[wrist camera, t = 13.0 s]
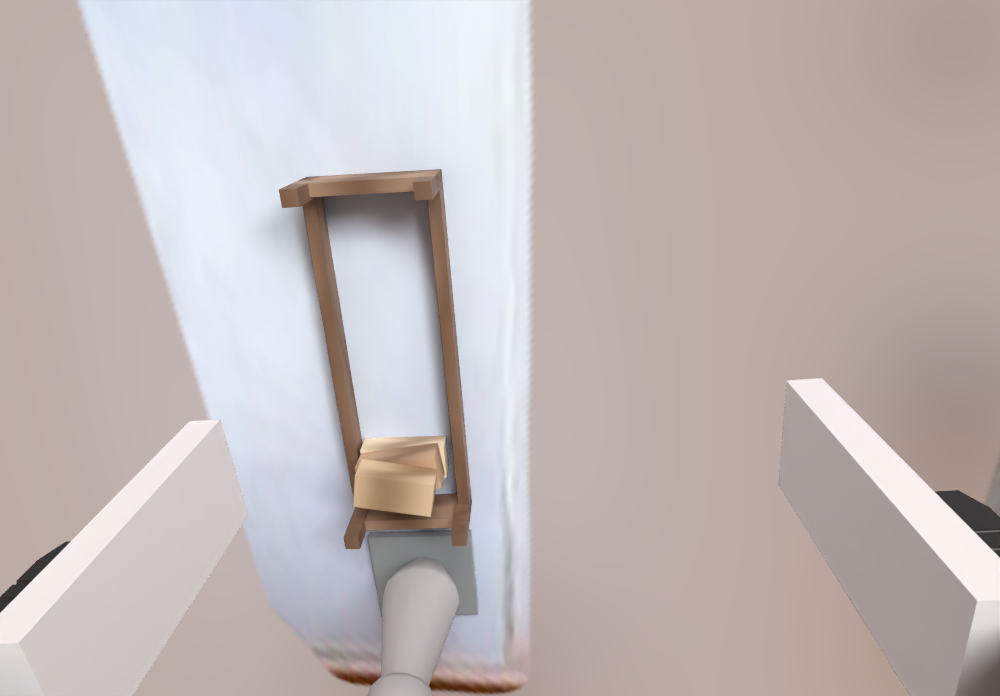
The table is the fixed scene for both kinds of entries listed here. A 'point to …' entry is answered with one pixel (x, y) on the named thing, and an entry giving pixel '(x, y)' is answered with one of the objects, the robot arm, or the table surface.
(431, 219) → the open rectangular wooden frame
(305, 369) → the table surface
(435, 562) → the salt shaker
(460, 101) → the table surface
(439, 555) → the coaster
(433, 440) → the offcut
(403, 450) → the offcut
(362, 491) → the offcut
